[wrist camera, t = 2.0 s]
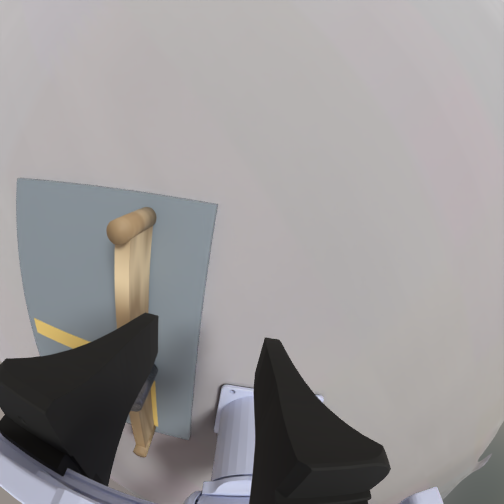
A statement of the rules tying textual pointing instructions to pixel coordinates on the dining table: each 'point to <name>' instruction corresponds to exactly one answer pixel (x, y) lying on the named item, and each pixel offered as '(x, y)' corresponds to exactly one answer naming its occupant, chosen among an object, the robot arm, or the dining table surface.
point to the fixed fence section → (143, 427)
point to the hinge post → (145, 390)
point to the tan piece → (132, 262)
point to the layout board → (103, 278)
